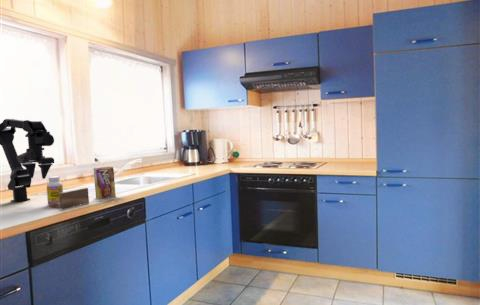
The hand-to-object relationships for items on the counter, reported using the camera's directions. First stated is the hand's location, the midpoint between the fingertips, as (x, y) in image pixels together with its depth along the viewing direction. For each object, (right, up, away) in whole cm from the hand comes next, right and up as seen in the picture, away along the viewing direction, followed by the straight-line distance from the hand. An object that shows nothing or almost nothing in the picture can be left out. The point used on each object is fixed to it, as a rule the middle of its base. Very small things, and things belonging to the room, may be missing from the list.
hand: (37, 178), depth 178 cm
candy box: (+30, -10, +8) cm, 33 cm away
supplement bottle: (+11, -12, -5) cm, 17 cm away
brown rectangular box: (+19, -12, -9) cm, 24 cm away
